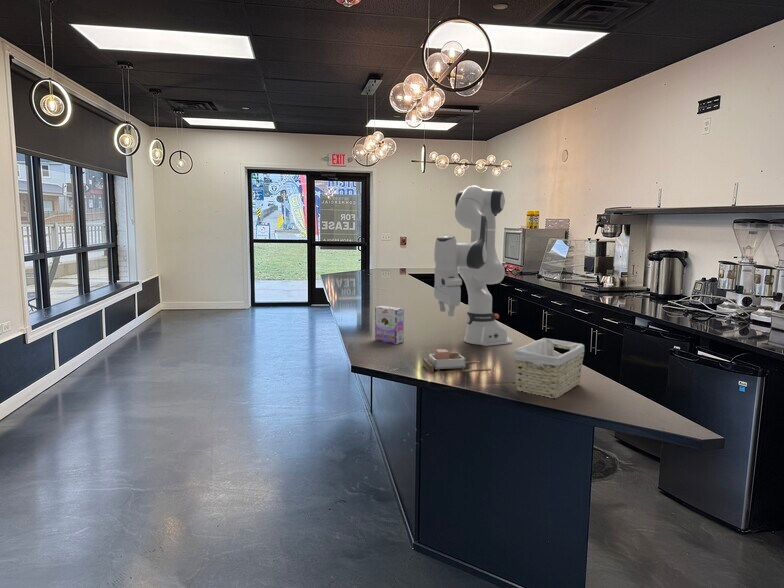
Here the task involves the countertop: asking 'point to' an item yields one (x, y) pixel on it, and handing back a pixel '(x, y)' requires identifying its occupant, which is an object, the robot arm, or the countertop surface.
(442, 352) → the block
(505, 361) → the countertop surface
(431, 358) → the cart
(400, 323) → the candy box
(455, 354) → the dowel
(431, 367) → the track
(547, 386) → the storage basket
